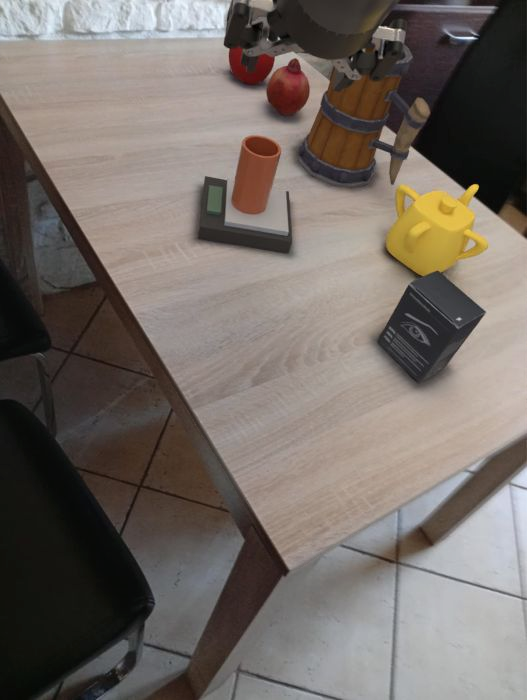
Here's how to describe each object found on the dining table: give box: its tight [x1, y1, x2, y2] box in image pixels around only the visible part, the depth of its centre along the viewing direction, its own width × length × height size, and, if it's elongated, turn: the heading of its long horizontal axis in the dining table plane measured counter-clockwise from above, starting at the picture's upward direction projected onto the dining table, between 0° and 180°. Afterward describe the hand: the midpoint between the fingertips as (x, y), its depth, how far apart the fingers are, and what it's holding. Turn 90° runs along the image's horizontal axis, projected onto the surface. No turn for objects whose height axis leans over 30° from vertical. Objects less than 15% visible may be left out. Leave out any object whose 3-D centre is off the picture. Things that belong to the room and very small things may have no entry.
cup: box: [231, 134, 282, 215], centre depth 72 cm, size 5×5×9 cm
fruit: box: [265, 57, 311, 116], centre depth 97 cm, size 8×8×10 cm
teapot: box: [385, 183, 489, 277], centre depth 78 cm, size 14×13×10 cm
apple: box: [228, 46, 276, 85], centre depth 103 cm, size 9×9×10 cm
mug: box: [296, 43, 431, 189], centre depth 85 cm, size 19×14×20 cm
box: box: [377, 271, 487, 384], centre depth 64 cm, size 8×6×11 cm
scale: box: [197, 175, 293, 254], centre depth 77 cm, size 13×12×3 cm
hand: (294, 71), depth 50 cm, fingers open, 8 cm apart
